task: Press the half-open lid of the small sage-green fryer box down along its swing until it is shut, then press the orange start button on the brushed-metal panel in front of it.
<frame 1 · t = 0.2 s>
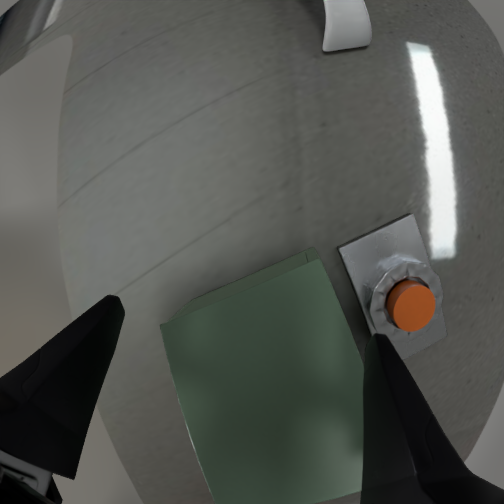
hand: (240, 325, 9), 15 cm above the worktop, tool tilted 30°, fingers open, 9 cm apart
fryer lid: (270, 405, 15), point 10 cm above the worktop, hinge at 30.0°
fryer: (282, 343, 25), on the worktop
control panel: (396, 293, 23), on the worktop
start button: (411, 305, 20), point 4 cm above the worktop, slide at 0.2 cm
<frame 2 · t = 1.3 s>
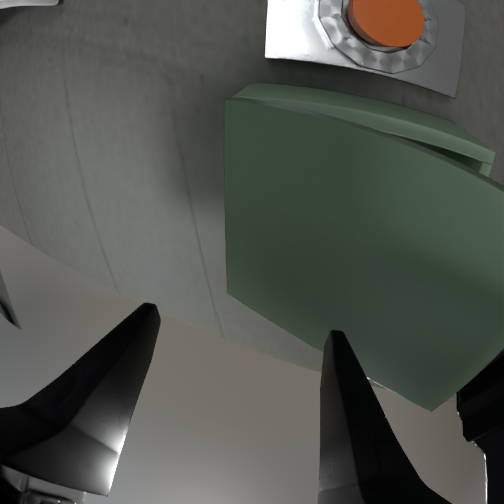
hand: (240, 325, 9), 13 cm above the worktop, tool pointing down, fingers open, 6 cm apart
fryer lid: (361, 275, 11), point 10 cm above the worktop, hinge at 30.0°
fryer: (347, 176, 19), on the worktop
control panel: (369, 20, 12), on the worktop
start button: (385, 15, 9), point 4 cm above the worktop, slide at 0.2 cm
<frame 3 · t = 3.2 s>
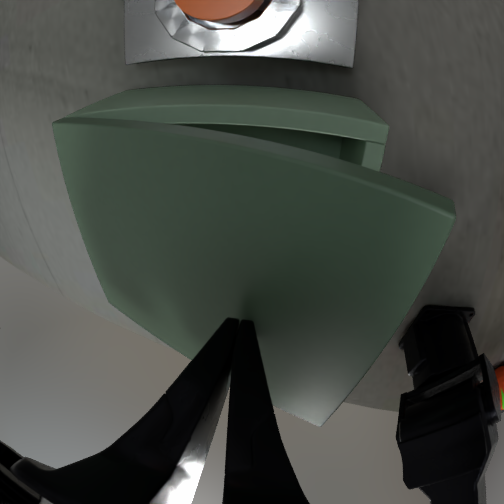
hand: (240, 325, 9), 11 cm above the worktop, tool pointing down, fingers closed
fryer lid: (183, 281, 11), point 9 cm above the worktop, hinge at 22.1°, touching gripper
fryer: (233, 177, 18), on the worktop
clementine: (497, 366, 29), on the worktop
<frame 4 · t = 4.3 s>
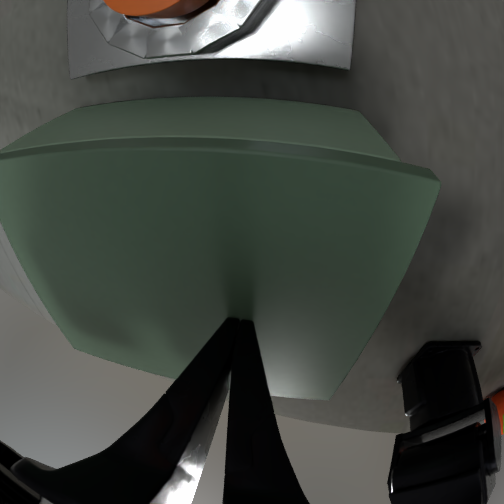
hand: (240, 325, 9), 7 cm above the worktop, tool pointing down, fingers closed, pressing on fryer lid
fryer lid: (166, 303, 10), point 6 cm above the worktop, hinge at -0.2°, touching fryer, gripper
fryer: (202, 209, 15), on the worktop
clementine: (499, 389, 26), on the worktop
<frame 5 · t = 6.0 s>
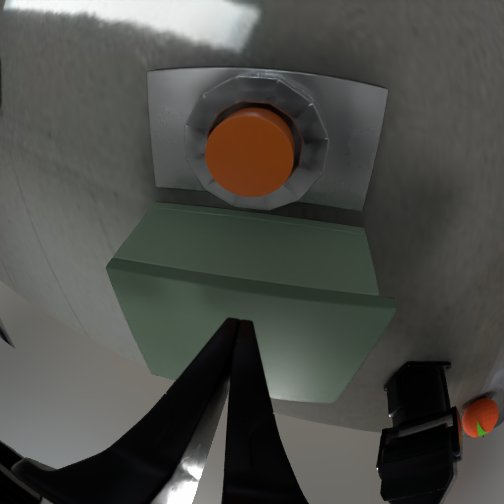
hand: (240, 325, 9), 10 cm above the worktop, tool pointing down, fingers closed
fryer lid: (242, 351, 17), point 6 cm above the worktop, hinge at -0.2°, touching fryer
fryer: (252, 279, 22), on the worktop
control panel: (262, 130, 15), on the worktop
start button: (251, 151, 12), point 4 cm above the worktop, slide at 0.2 cm
clementine: (476, 398, 32), on the worktop
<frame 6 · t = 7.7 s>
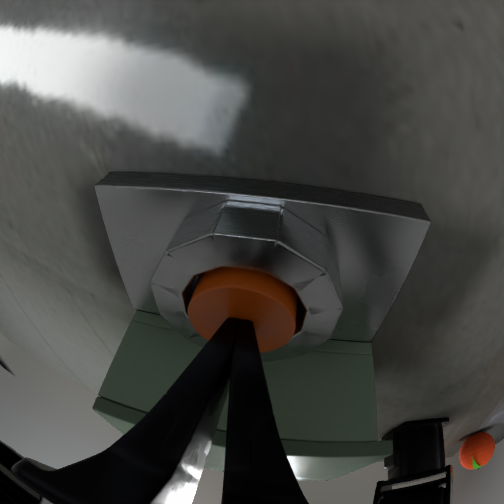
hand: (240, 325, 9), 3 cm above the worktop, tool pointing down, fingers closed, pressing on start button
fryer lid: (239, 460, 14), point 6 cm above the worktop, hinge at -0.2°, touching fryer
fryer: (248, 376, 19), on the worktop
control panel: (255, 256, 12), on the worktop
start button: (244, 305, 10), point 3 cm above the worktop, slide at -0.8 cm, touching gripper
clementine: (474, 432, 30), on the worktop
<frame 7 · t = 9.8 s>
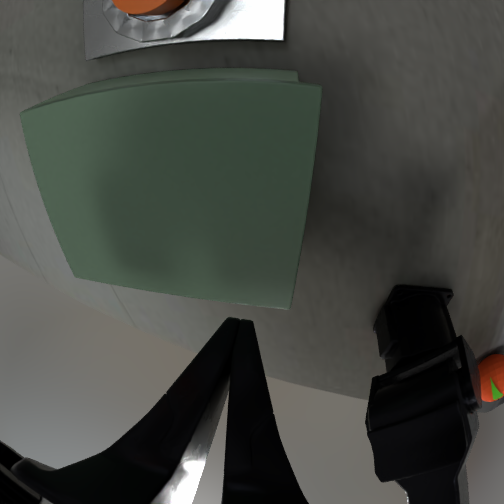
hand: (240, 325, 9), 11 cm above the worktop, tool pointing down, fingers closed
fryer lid: (150, 206, 13), point 6 cm above the worktop, hinge at -0.2°, touching fryer
fryer: (184, 156, 18), on the worktop
clementine: (487, 355, 29), on the worktop
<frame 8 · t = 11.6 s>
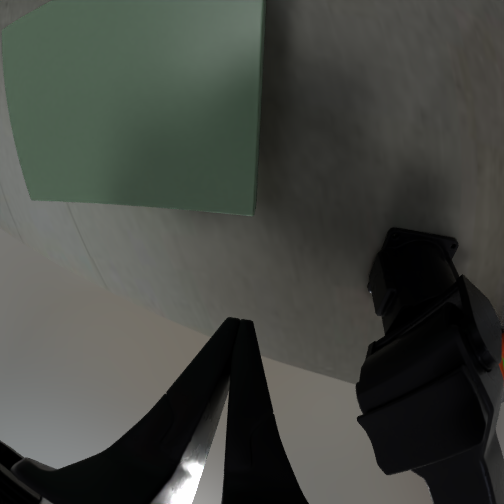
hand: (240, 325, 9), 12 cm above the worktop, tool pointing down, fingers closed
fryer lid: (101, 93, 10), point 6 cm above the worktop, hinge at -0.2°, touching fryer
clementine: (495, 335, 26), on the worktop
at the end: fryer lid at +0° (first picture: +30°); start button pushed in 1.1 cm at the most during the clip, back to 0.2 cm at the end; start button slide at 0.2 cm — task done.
